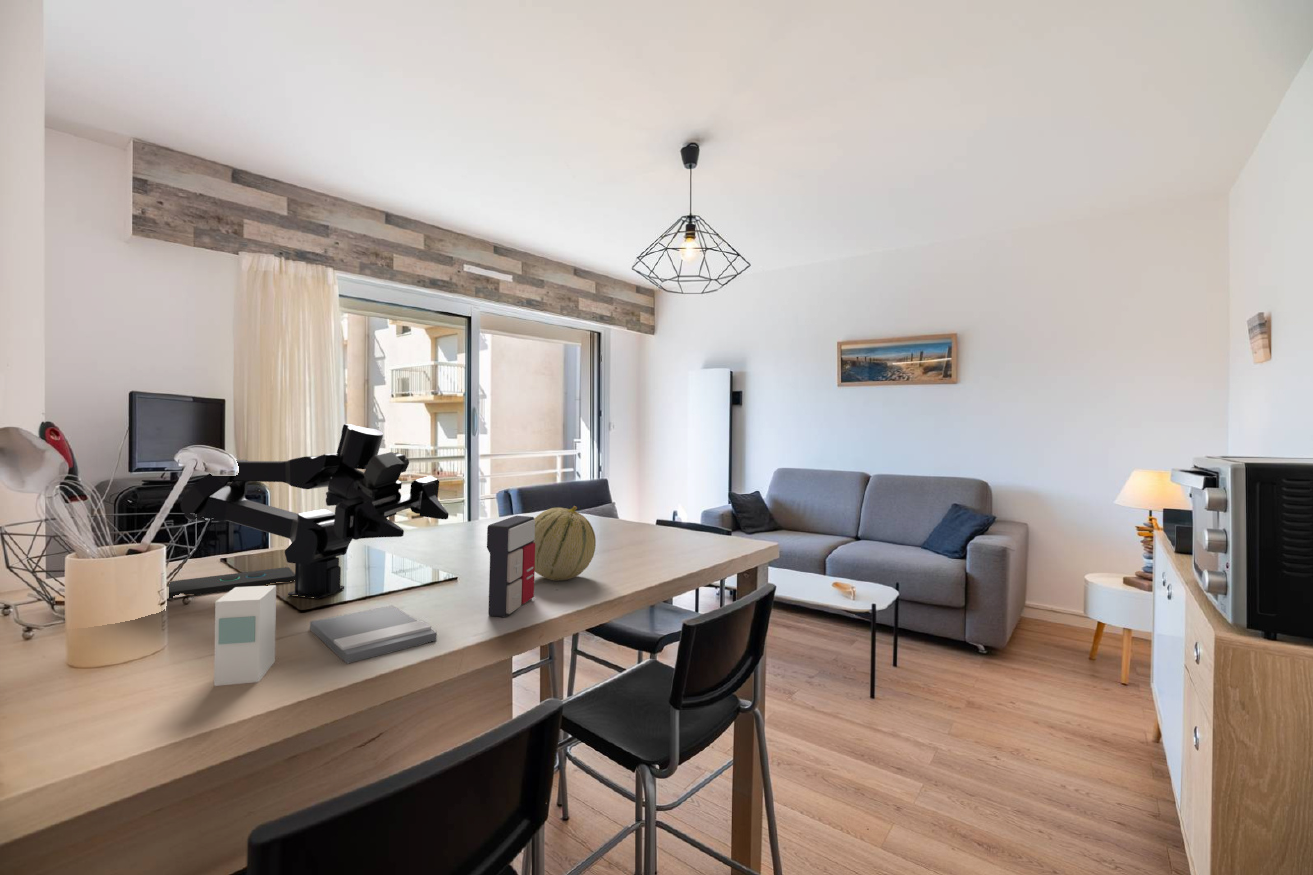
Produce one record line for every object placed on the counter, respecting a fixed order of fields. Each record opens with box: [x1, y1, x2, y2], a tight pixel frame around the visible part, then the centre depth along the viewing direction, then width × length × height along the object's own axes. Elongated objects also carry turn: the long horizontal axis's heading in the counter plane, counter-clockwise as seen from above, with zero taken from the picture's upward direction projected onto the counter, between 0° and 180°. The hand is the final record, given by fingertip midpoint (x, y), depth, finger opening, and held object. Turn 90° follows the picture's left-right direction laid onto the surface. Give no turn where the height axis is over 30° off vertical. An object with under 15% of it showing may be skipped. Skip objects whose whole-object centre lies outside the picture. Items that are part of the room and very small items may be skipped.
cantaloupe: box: [534, 505, 596, 581], centre depth 118 cm, size 15×15×15 cm
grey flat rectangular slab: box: [309, 604, 437, 664], centre depth 85 cm, size 12×16×2 cm
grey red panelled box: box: [486, 515, 536, 618], centre depth 100 cm, size 11×4×15 cm, turn 168°
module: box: [213, 584, 277, 687], centre depth 71 cm, size 6×4×10 cm
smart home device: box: [168, 566, 295, 600], centre depth 106 cm, size 8×2×20 cm
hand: (426, 524), depth 94 cm, fingers open, 9 cm apart
